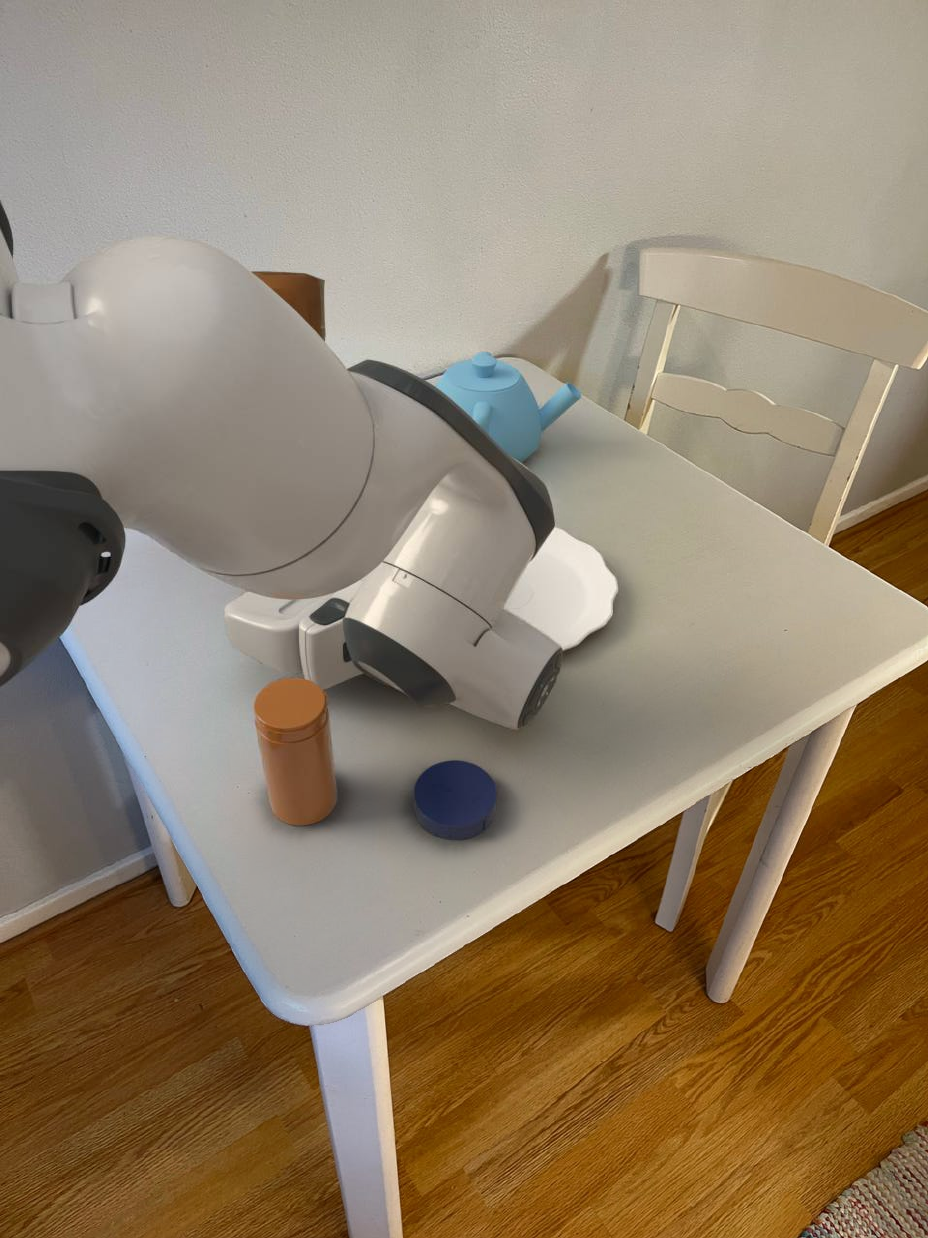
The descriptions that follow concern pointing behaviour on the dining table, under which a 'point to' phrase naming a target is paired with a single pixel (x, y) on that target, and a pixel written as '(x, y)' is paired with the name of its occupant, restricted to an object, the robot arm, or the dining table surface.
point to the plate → (565, 590)
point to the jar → (296, 750)
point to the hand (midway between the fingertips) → (269, 547)
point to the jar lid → (455, 799)
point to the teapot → (504, 402)
